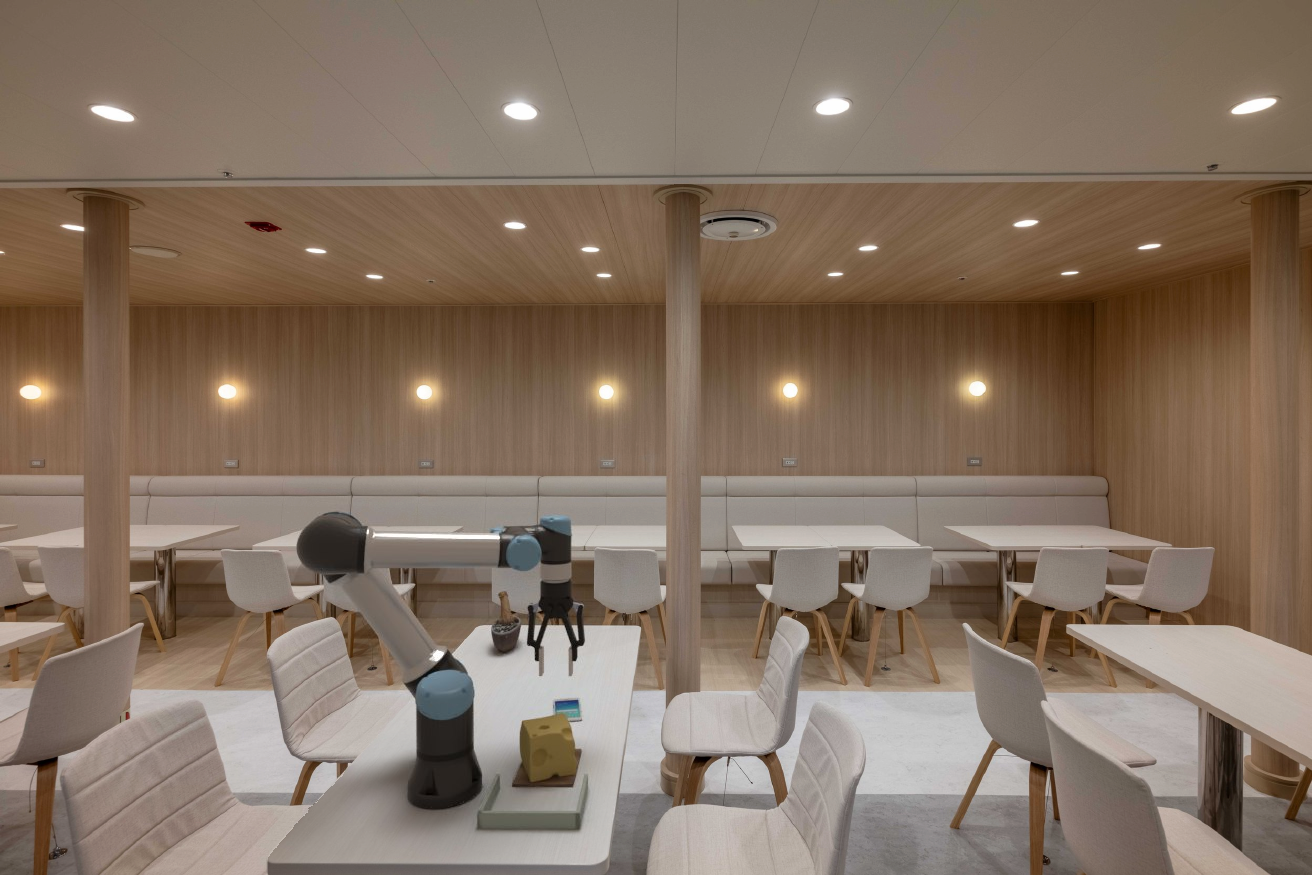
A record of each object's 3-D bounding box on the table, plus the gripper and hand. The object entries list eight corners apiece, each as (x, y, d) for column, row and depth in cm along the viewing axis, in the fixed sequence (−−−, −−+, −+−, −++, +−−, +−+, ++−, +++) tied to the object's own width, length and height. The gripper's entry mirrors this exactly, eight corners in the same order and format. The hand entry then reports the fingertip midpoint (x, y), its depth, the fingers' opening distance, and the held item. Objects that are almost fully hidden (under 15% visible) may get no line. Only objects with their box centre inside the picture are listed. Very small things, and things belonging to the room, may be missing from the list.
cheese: (576, 775, 148) (576, 729, 148) (527, 784, 144) (527, 737, 144) (565, 754, 157) (565, 711, 157) (518, 762, 154) (518, 718, 153)
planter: (514, 638, 248) (514, 584, 248) (537, 649, 235) (536, 592, 235) (476, 646, 239) (476, 590, 239) (497, 658, 226) (497, 599, 226)
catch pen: (579, 828, 129) (579, 812, 129) (477, 828, 129) (477, 812, 129) (588, 787, 144) (588, 773, 144) (496, 787, 144) (496, 773, 144)
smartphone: (553, 721, 176) (553, 698, 191) (553, 724, 176) (553, 701, 191) (582, 719, 177) (579, 697, 192) (582, 722, 177) (579, 700, 192)
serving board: (572, 786, 144) (572, 783, 144) (512, 786, 144) (512, 783, 144) (581, 751, 160) (581, 748, 160) (526, 751, 160) (526, 748, 160)
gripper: (597, 576, 168) (597, 668, 168) (519, 576, 168) (519, 668, 168) (594, 582, 160) (594, 679, 160) (512, 582, 160) (512, 679, 160)
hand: (556, 673), depth 164 cm, fingers open, 6 cm apart
